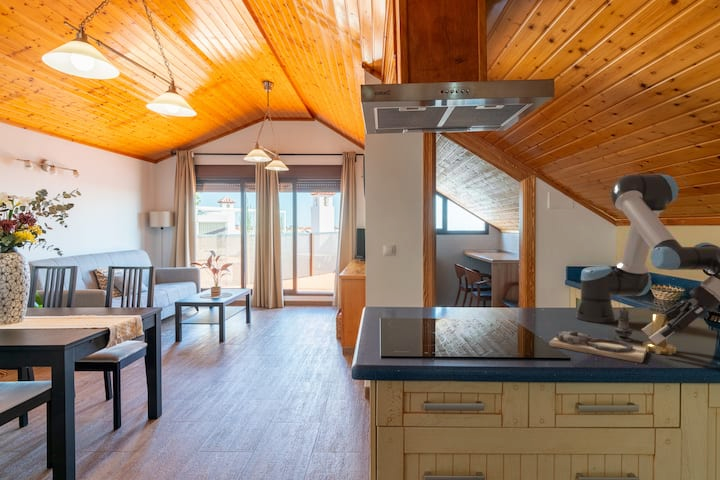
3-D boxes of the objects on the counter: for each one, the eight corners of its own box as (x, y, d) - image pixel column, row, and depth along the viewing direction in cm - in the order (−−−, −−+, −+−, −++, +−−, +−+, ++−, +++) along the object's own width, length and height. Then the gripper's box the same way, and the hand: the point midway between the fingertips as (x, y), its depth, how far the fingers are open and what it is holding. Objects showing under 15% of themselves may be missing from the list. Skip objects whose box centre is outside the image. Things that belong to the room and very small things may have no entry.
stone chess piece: (636, 341, 140) (636, 308, 139) (618, 340, 141) (618, 307, 141) (628, 337, 146) (629, 305, 145) (611, 336, 147) (611, 304, 146)
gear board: (560, 337, 145) (560, 325, 145) (646, 351, 128) (646, 338, 128) (549, 346, 135) (549, 333, 135) (641, 362, 118) (642, 348, 118)
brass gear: (644, 345, 135) (645, 311, 135) (676, 350, 130) (677, 314, 129) (641, 351, 129) (642, 315, 128) (675, 356, 123) (675, 319, 123)
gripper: (736, 309, 112) (667, 356, 119) (707, 296, 132) (650, 337, 140) (713, 289, 114) (646, 336, 121) (688, 280, 134) (632, 320, 142)
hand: (648, 336), depth 130 cm, fingers open, 10 cm apart
